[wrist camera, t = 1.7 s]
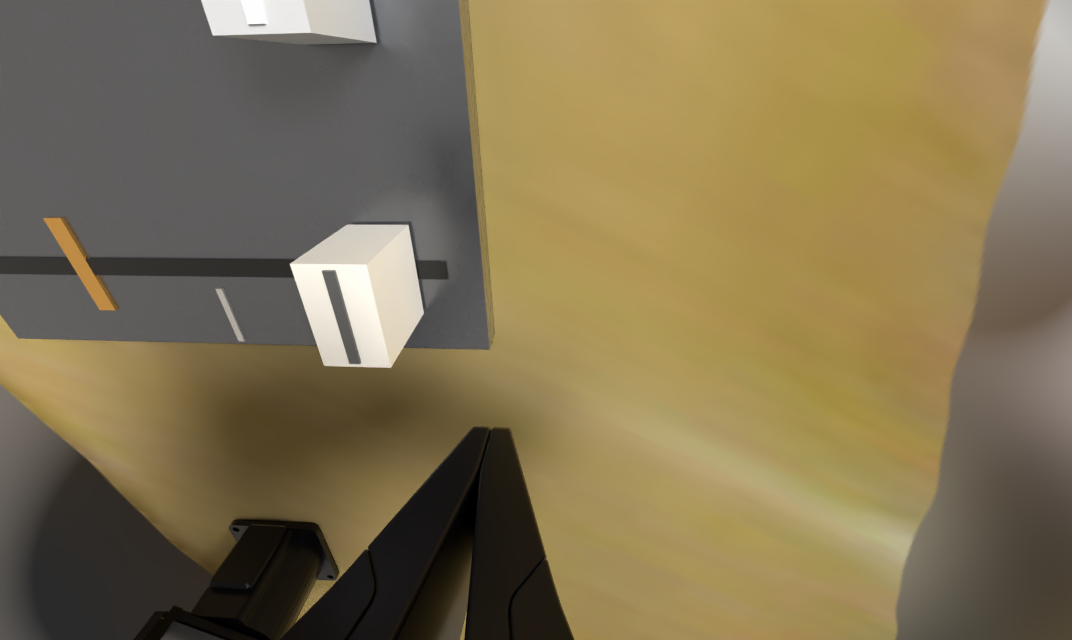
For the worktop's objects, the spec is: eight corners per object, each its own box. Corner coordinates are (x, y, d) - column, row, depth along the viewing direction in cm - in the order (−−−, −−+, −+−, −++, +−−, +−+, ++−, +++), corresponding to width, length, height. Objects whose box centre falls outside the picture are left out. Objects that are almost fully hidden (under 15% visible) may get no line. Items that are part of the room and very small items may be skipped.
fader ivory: (423, 313, 19) (390, 369, 15) (369, 312, 19) (322, 367, 15) (408, 224, 17) (365, 265, 13) (346, 224, 17) (287, 264, 13)
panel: (494, 332, 21) (489, 351, 20) (50, 323, 23) (15, 339, 21) (451, -212, 12) (435, -250, 10) (-289, -161, 13) (-388, -189, 12)
